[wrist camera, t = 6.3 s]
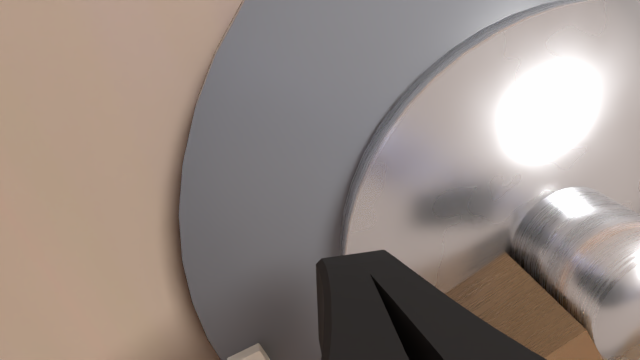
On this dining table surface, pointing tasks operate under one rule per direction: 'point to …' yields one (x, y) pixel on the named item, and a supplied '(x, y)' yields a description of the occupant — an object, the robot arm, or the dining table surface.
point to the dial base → (295, 152)
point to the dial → (520, 179)
